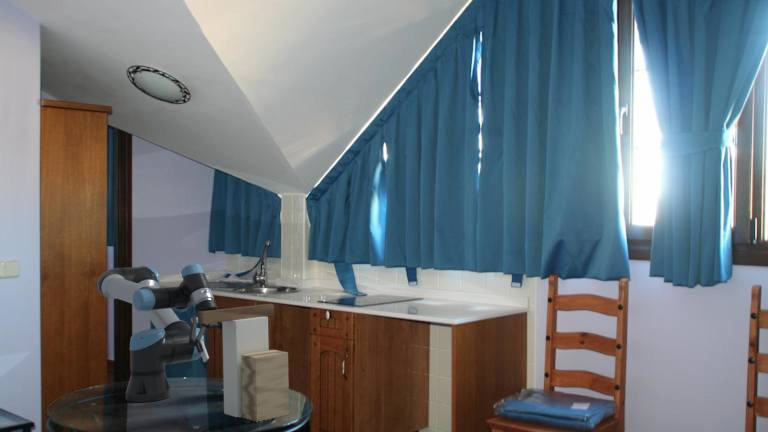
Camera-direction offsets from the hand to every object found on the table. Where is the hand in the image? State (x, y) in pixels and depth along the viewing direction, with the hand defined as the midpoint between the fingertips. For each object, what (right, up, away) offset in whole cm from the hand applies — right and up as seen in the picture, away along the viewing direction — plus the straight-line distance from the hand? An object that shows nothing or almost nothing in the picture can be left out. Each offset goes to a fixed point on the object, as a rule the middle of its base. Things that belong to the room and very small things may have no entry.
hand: (224, 357), depth 245 cm
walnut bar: (+7, +15, -14) cm, 21 cm away
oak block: (+17, -15, -18) cm, 29 cm away
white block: (+10, -15, -12) cm, 22 cm away
